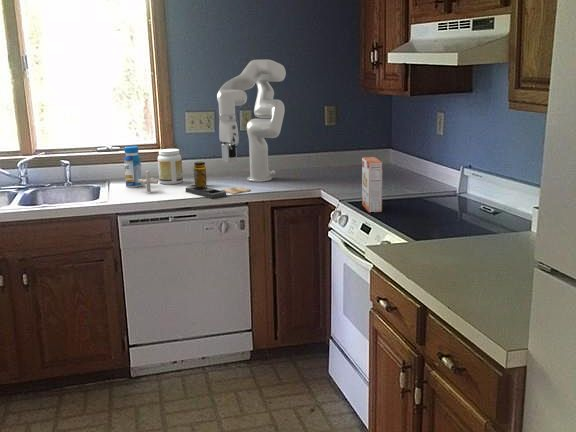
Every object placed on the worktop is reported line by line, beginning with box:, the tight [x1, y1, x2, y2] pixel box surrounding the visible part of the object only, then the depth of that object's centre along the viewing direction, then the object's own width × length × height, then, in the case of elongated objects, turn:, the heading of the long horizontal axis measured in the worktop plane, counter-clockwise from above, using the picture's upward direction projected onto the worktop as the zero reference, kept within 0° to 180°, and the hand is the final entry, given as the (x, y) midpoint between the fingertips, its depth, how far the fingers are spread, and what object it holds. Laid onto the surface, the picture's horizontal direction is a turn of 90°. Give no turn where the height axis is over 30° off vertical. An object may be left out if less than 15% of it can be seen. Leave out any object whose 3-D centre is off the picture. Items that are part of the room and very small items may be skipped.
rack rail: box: [185, 186, 227, 199], centre depth 308 cm, size 8×22×2 cm, turn 42°
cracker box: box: [361, 156, 383, 214], centre depth 270 cm, size 14×6×21 cm, turn 5°
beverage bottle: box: [123, 145, 143, 188], centre depth 328 cm, size 8×8×20 cm
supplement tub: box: [157, 148, 184, 185], centre depth 336 cm, size 12×12×17 cm
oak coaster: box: [220, 186, 252, 195], centre depth 314 cm, size 10×10×1 cm
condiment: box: [188, 161, 210, 187], centre depth 327 cm, size 7×8×12 cm
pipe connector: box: [138, 170, 159, 193], centre depth 315 cm, size 10×10×10 cm
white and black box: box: [220, 143, 238, 163], centre depth 309 cm, size 5×5×8 cm
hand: (229, 156), depth 310 cm, fingers closed on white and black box, 5 cm apart
